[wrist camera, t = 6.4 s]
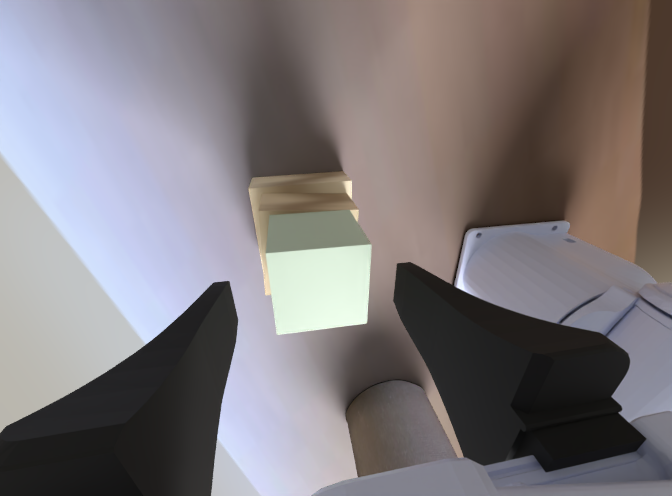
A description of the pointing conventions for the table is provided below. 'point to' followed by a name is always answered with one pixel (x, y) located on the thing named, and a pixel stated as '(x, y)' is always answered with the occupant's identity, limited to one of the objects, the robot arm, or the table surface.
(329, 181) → the base slab
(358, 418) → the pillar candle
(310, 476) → the table surface
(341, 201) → the beige square block
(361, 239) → the sage cube
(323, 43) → the table surface
